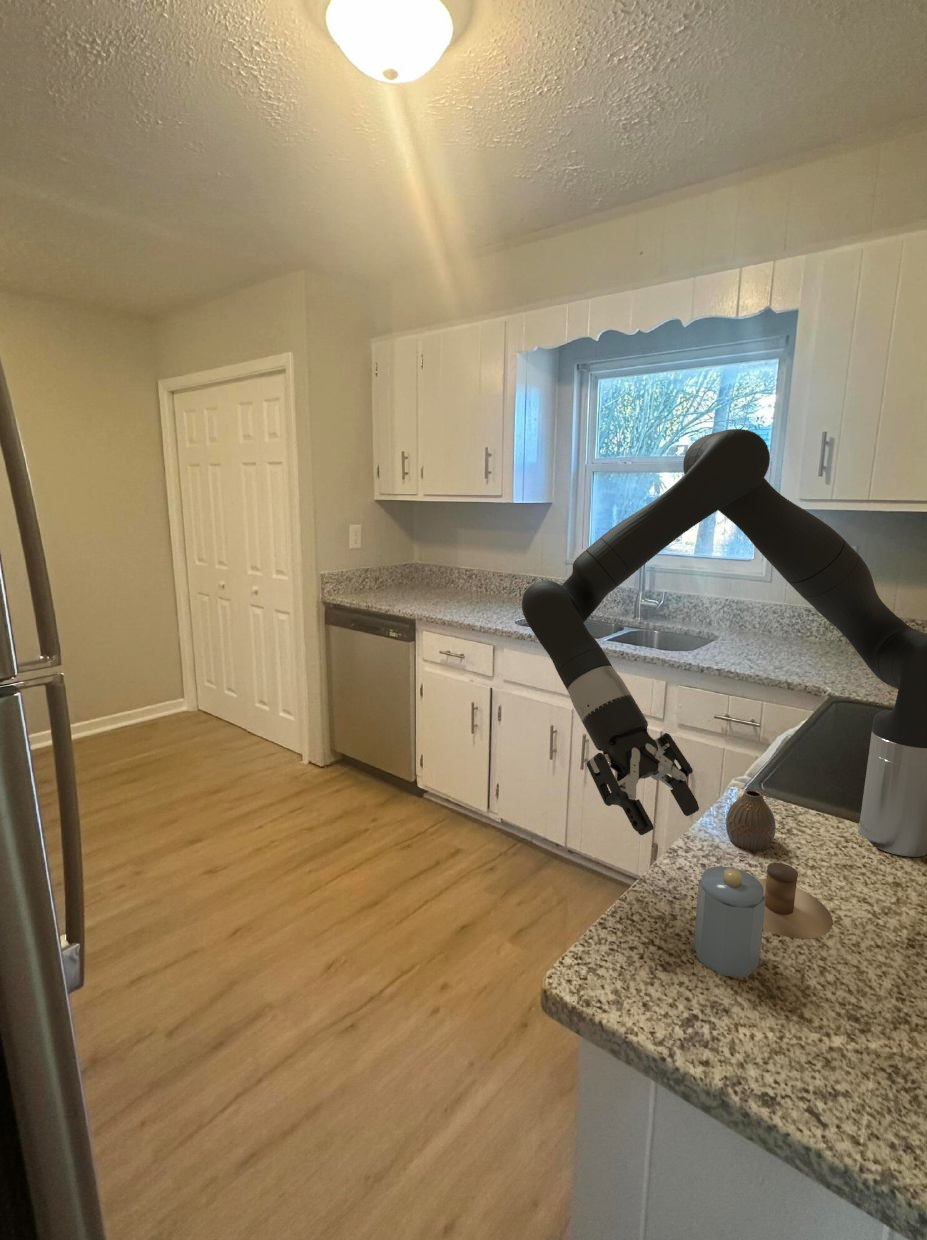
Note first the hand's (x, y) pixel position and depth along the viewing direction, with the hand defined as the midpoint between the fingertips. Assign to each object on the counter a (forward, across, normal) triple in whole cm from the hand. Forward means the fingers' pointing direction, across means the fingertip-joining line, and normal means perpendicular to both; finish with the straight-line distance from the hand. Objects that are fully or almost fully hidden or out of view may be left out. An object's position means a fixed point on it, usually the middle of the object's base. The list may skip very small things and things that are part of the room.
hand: (671, 822), depth 76 cm
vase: (+7, +25, +13) cm, 29 cm away
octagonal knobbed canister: (+15, 0, +3) cm, 16 cm away
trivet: (+14, +14, +4) cm, 20 cm away
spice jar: (+14, +14, +4) cm, 20 cm away
